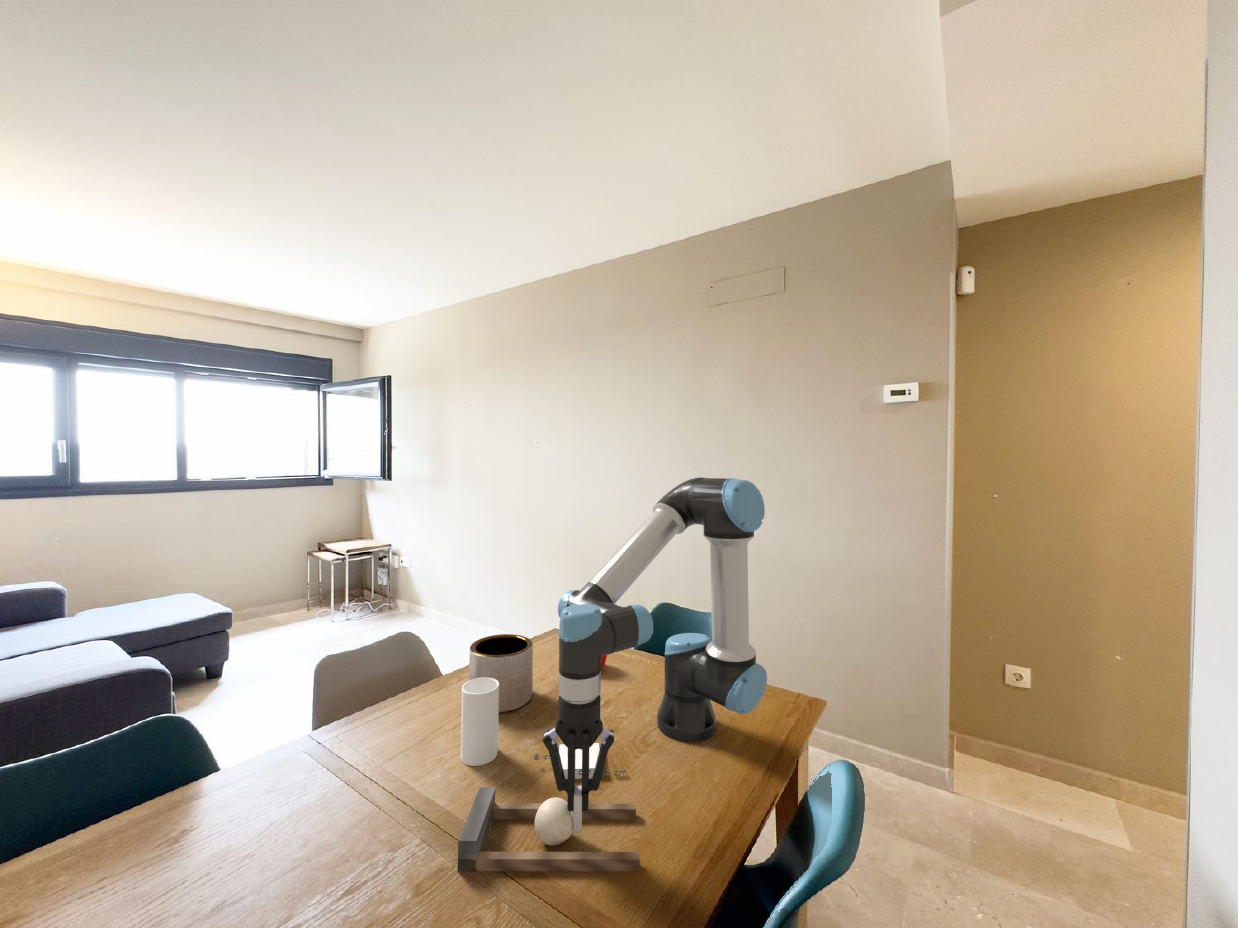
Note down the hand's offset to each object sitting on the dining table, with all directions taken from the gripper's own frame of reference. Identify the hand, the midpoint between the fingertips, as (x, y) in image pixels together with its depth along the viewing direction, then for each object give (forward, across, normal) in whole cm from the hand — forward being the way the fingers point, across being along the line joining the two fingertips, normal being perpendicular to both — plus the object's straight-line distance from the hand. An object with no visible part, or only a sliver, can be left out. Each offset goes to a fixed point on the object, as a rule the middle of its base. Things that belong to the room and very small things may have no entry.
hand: (577, 826), depth 85 cm
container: (+3, +1, -21) cm, 21 cm away
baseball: (+3, +4, 0) cm, 5 cm away
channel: (+3, +4, 0) cm, 5 cm away
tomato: (+3, 0, -72) cm, 72 cm away
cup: (+3, +24, -26) cm, 35 cm away
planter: (+3, +25, -52) cm, 57 cm away
